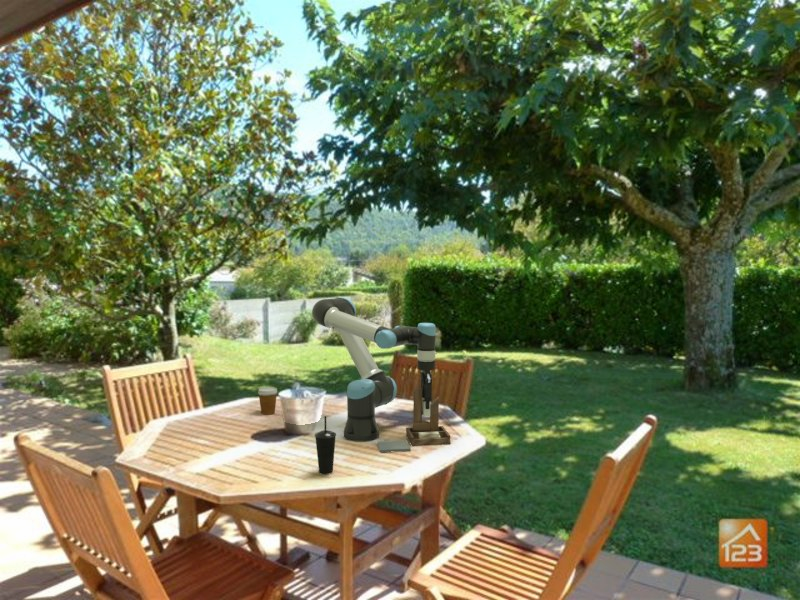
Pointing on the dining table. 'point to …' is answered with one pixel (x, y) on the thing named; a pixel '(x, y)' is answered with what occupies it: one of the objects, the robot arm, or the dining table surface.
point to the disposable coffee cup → (267, 400)
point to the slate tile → (393, 446)
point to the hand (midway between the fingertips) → (425, 414)
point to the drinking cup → (325, 449)
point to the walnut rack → (416, 441)
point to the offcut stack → (428, 435)
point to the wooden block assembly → (417, 413)
